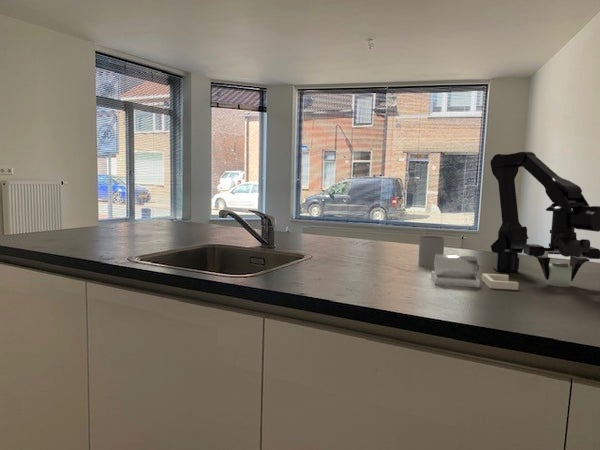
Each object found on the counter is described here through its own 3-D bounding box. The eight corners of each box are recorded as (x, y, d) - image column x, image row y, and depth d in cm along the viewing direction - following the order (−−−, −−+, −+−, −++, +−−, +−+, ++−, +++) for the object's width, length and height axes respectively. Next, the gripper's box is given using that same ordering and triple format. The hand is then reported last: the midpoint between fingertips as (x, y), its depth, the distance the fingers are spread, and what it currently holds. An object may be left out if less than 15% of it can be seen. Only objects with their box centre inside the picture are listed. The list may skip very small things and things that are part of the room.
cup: (442, 263, 152) (444, 236, 151) (442, 267, 145) (444, 239, 144) (419, 261, 155) (420, 235, 154) (417, 265, 147) (418, 237, 146)
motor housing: (435, 284, 120) (436, 257, 119) (431, 277, 130) (432, 251, 129) (481, 287, 118) (483, 259, 117) (473, 279, 127) (475, 253, 126)
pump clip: (490, 288, 117) (490, 281, 117) (481, 279, 127) (482, 273, 127) (517, 289, 116) (518, 282, 115) (507, 281, 126) (507, 274, 125)
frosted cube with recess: (551, 286, 120) (552, 264, 120) (543, 281, 126) (545, 260, 126) (574, 287, 119) (576, 265, 119) (565, 282, 125) (567, 261, 124)
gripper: (537, 229, 115) (533, 284, 117) (614, 232, 111) (608, 289, 113) (524, 225, 126) (521, 276, 127) (593, 227, 122) (589, 279, 124)
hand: (558, 280), depth 123 cm, fingers closed on frosted cube with recess, 6 cm apart
